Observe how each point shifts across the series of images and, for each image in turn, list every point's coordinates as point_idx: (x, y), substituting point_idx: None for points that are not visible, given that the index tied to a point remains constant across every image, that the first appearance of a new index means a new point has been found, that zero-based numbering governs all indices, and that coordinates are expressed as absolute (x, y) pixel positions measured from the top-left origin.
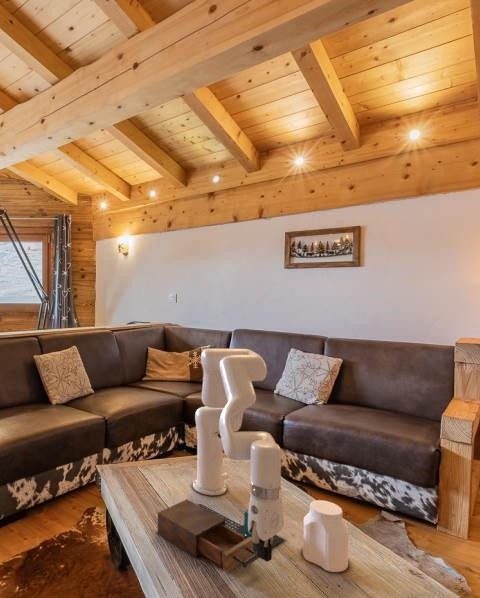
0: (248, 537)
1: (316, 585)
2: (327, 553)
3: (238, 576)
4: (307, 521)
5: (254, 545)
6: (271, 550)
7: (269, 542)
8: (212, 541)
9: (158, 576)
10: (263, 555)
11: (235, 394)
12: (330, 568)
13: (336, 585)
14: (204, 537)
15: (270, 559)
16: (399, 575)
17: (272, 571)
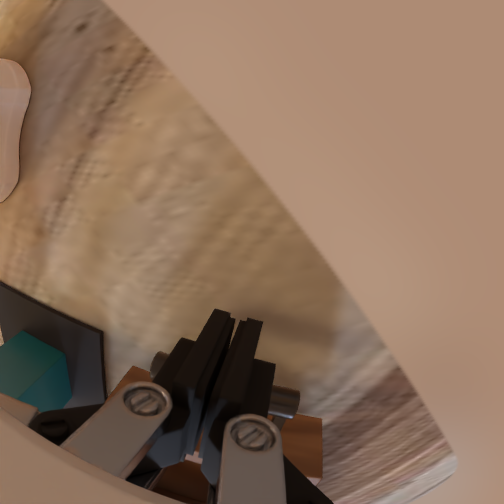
0: (67, 388)
1: (124, 79)
2: None
3: (294, 377)
4: None
5: (79, 364)
6: (195, 350)
7: (172, 416)
8: (194, 481)
9: (414, 496)
10: (271, 377)
11: None
12: (21, 82)
13: (84, 32)
14: (194, 495)
15: (230, 314)
16: None
17: (158, 270)
